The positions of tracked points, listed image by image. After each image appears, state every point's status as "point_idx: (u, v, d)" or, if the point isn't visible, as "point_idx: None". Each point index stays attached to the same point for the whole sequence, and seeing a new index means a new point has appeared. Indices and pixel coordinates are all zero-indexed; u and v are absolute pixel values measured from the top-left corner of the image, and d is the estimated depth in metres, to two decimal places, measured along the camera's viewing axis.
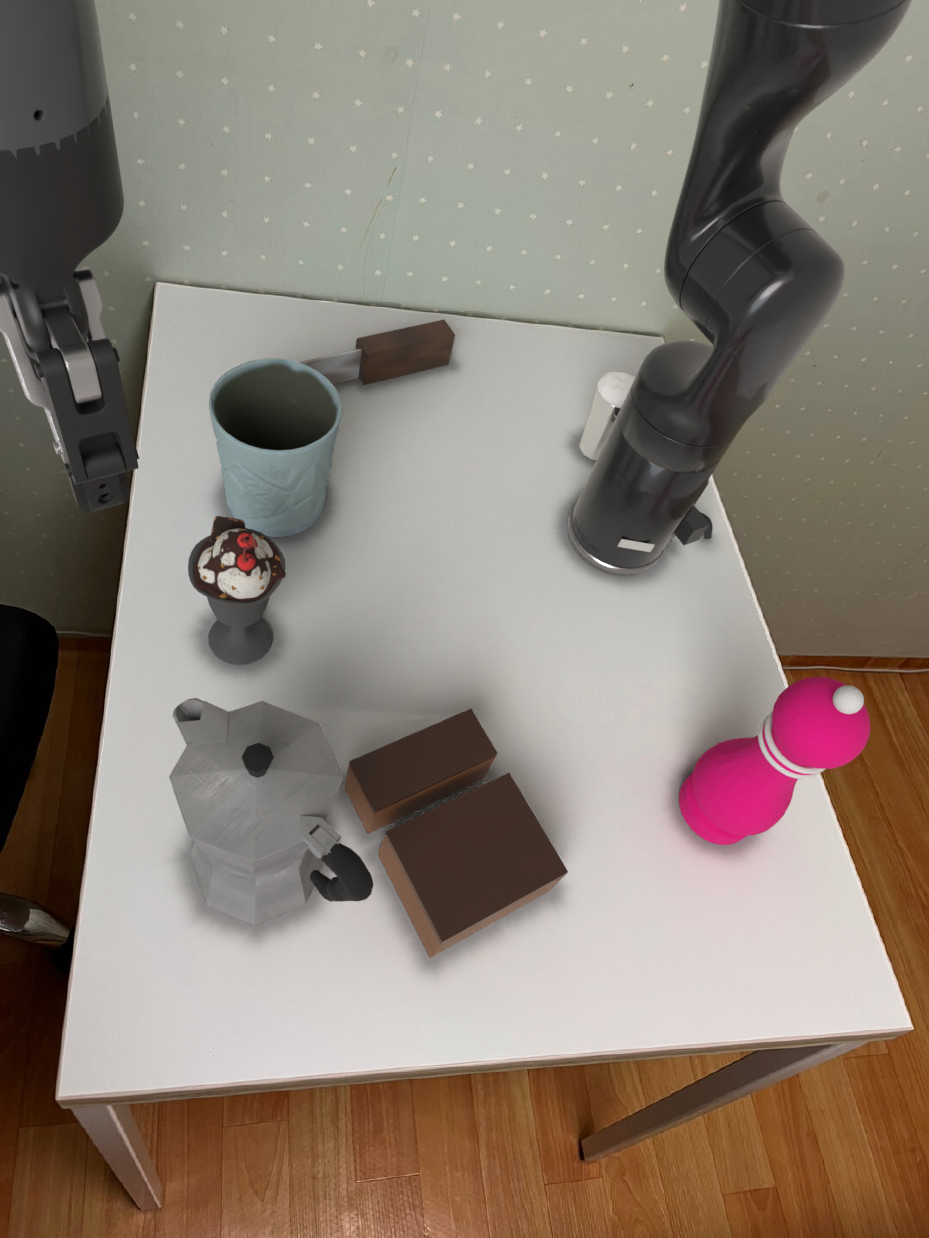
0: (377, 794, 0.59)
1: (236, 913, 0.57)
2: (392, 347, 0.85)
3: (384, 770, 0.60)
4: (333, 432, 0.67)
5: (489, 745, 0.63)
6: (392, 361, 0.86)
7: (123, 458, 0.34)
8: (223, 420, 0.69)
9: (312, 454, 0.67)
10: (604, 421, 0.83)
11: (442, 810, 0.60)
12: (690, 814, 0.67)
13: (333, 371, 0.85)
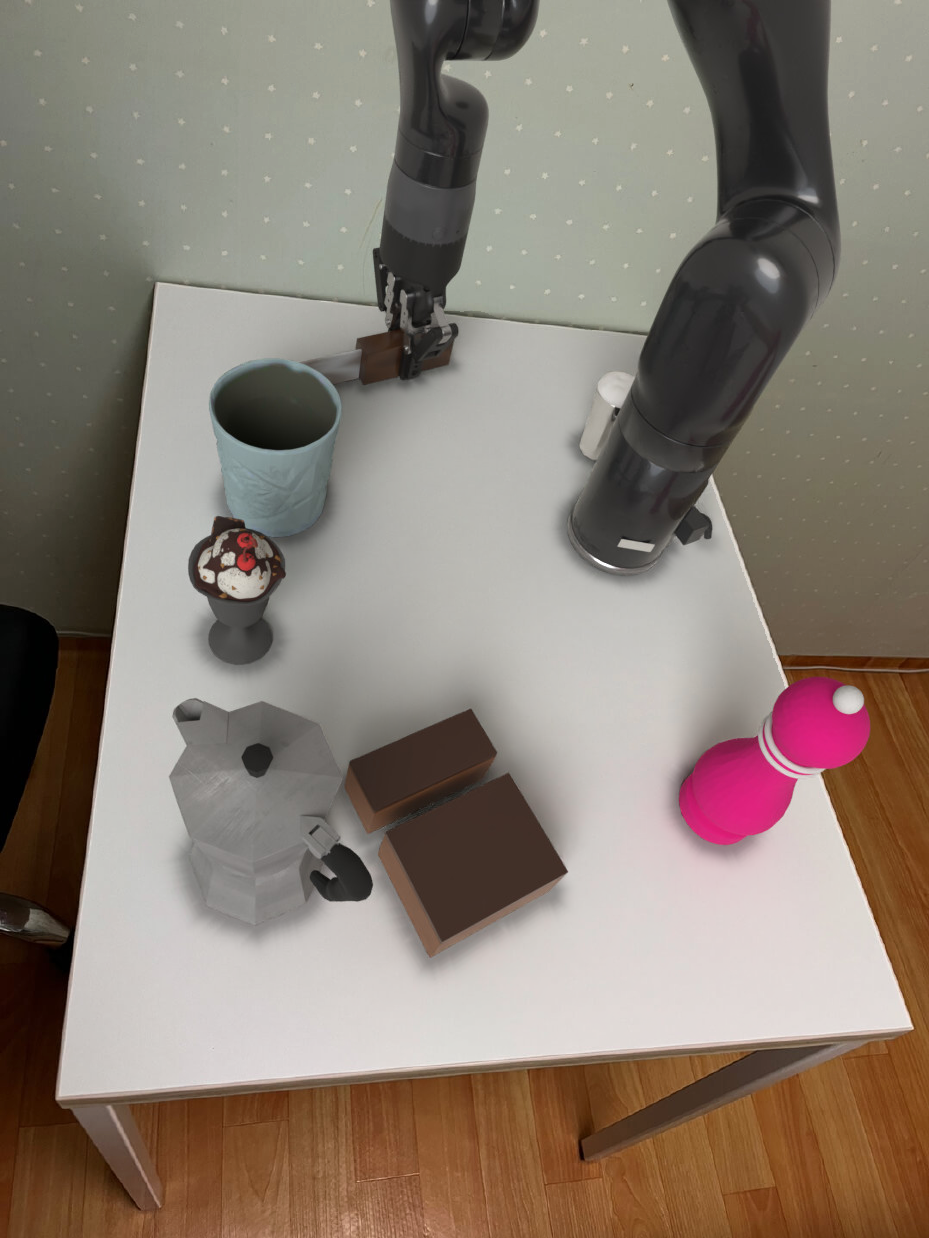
0: (377, 794, 0.59)
1: (236, 913, 0.57)
2: (392, 347, 0.85)
3: (384, 770, 0.60)
4: (333, 432, 0.67)
5: (489, 745, 0.63)
6: (392, 361, 0.86)
7: (435, 354, 0.84)
8: (223, 420, 0.69)
9: (312, 454, 0.67)
10: (604, 421, 0.83)
11: (442, 810, 0.60)
12: (690, 814, 0.67)
13: (333, 371, 0.85)
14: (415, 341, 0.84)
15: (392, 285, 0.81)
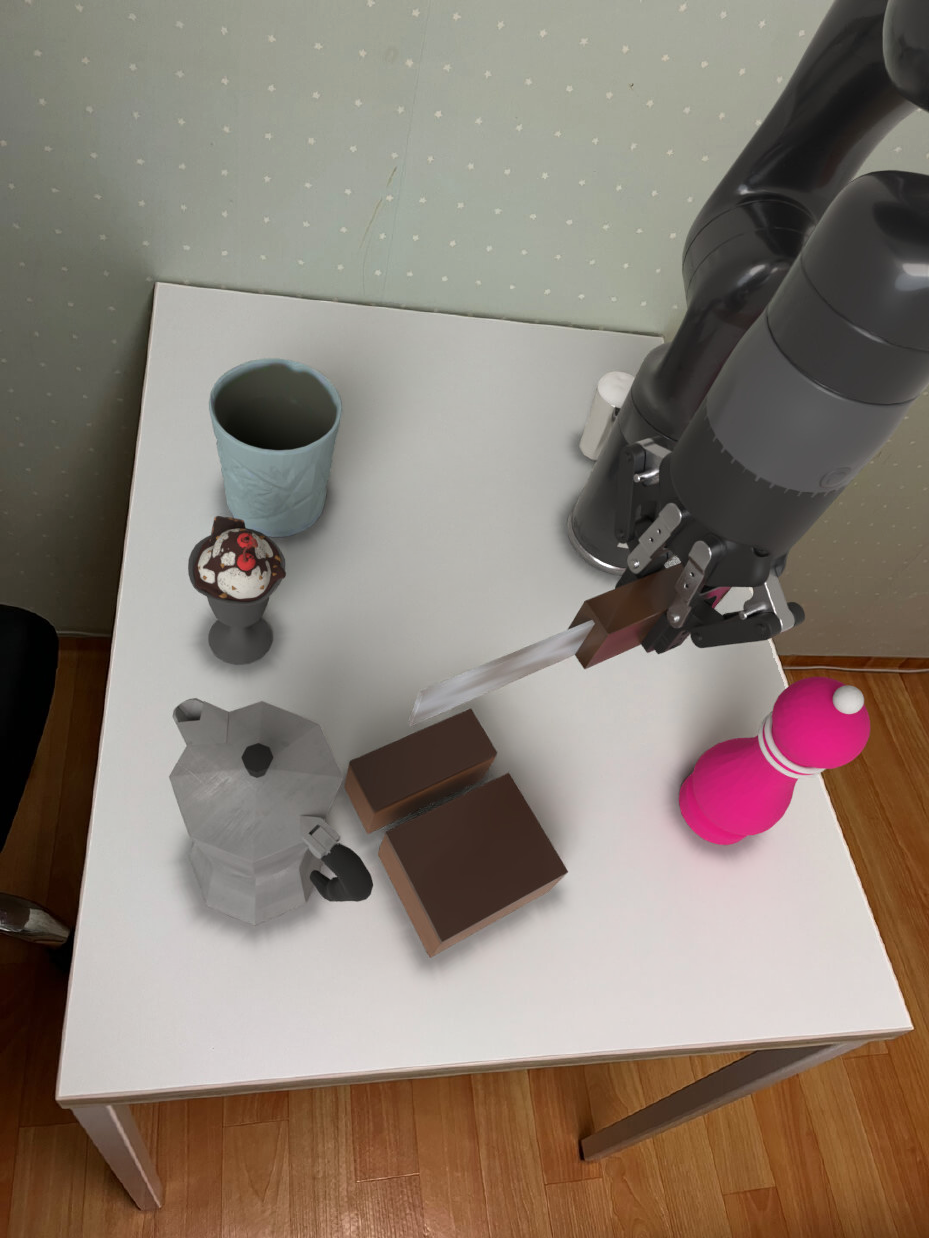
0: (377, 794, 0.59)
1: (236, 913, 0.57)
2: (647, 616, 0.48)
3: (384, 770, 0.60)
4: (333, 432, 0.67)
5: (489, 745, 0.63)
6: (638, 632, 0.50)
7: None
8: (223, 420, 0.69)
9: (312, 454, 0.67)
10: (604, 421, 0.83)
11: (442, 810, 0.60)
12: (690, 814, 0.67)
13: (542, 658, 0.48)
14: None
15: (673, 524, 0.44)
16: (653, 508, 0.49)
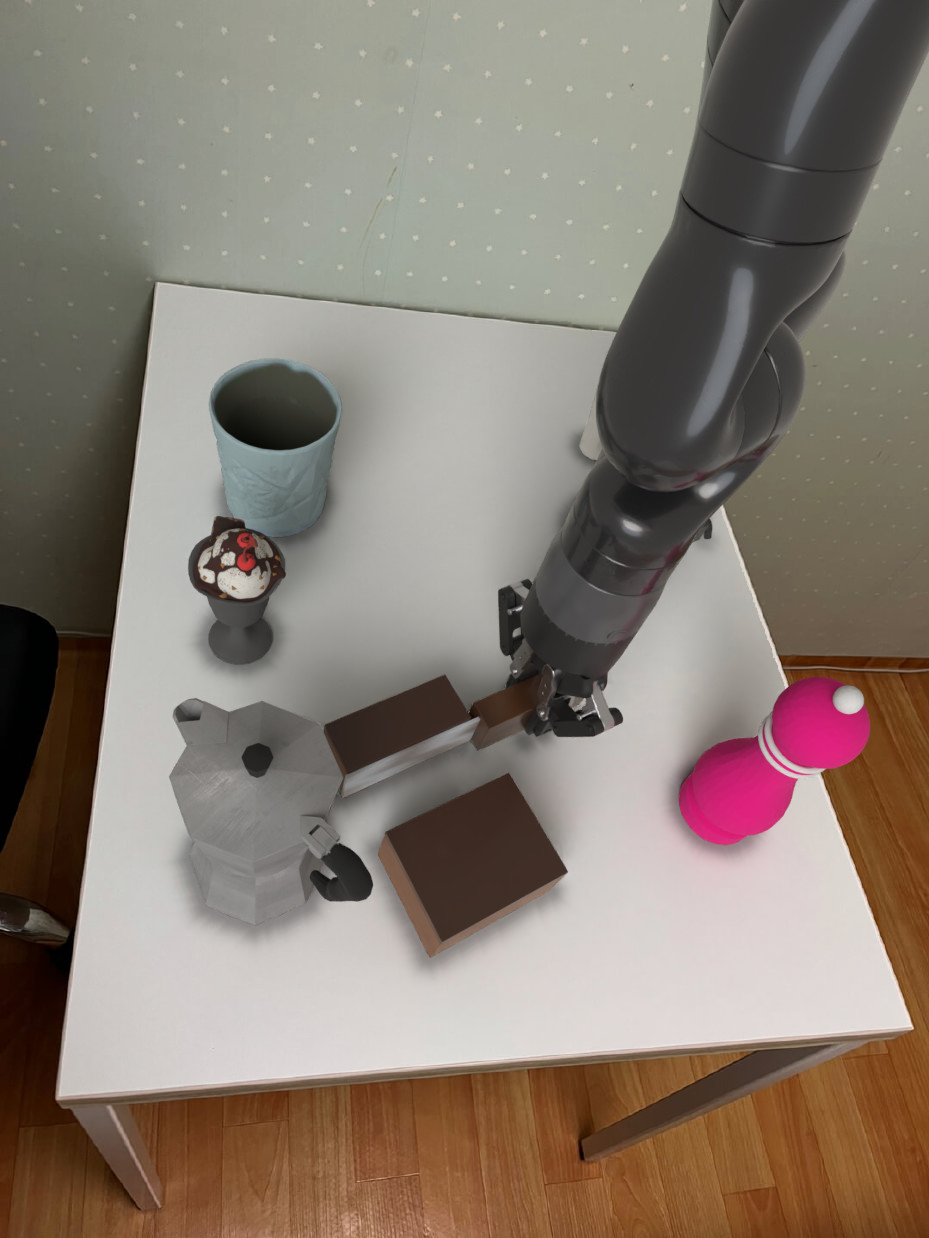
0: (351, 756, 0.60)
1: (236, 913, 0.57)
2: (520, 713, 0.65)
3: (358, 733, 0.61)
4: (333, 432, 0.67)
5: (463, 709, 0.64)
6: (516, 723, 0.66)
7: None
8: (223, 420, 0.69)
9: (312, 454, 0.67)
10: None
11: (442, 810, 0.60)
12: (690, 814, 0.67)
13: (442, 745, 0.65)
14: None
15: (530, 650, 0.61)
16: None
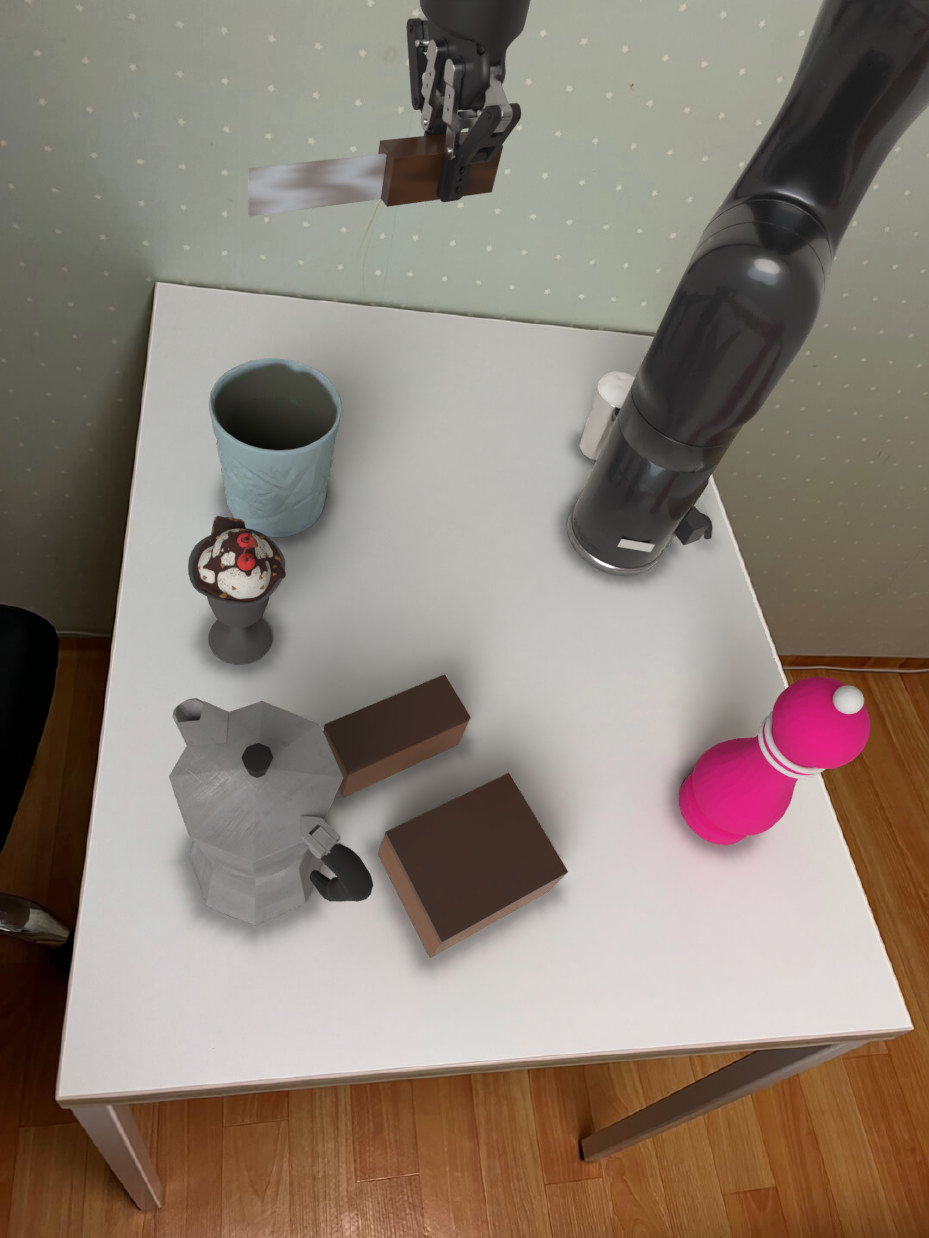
0: (351, 756, 0.60)
1: (236, 913, 0.57)
2: (426, 153, 0.66)
3: (358, 733, 0.61)
4: (333, 432, 0.67)
5: (462, 709, 0.64)
6: (424, 175, 0.68)
7: (486, 156, 0.66)
8: (223, 420, 0.69)
9: (312, 454, 0.67)
10: (604, 421, 0.83)
11: (442, 810, 0.60)
12: (690, 814, 0.67)
13: (350, 183, 0.66)
14: (461, 141, 0.66)
15: (434, 58, 0.63)
16: None
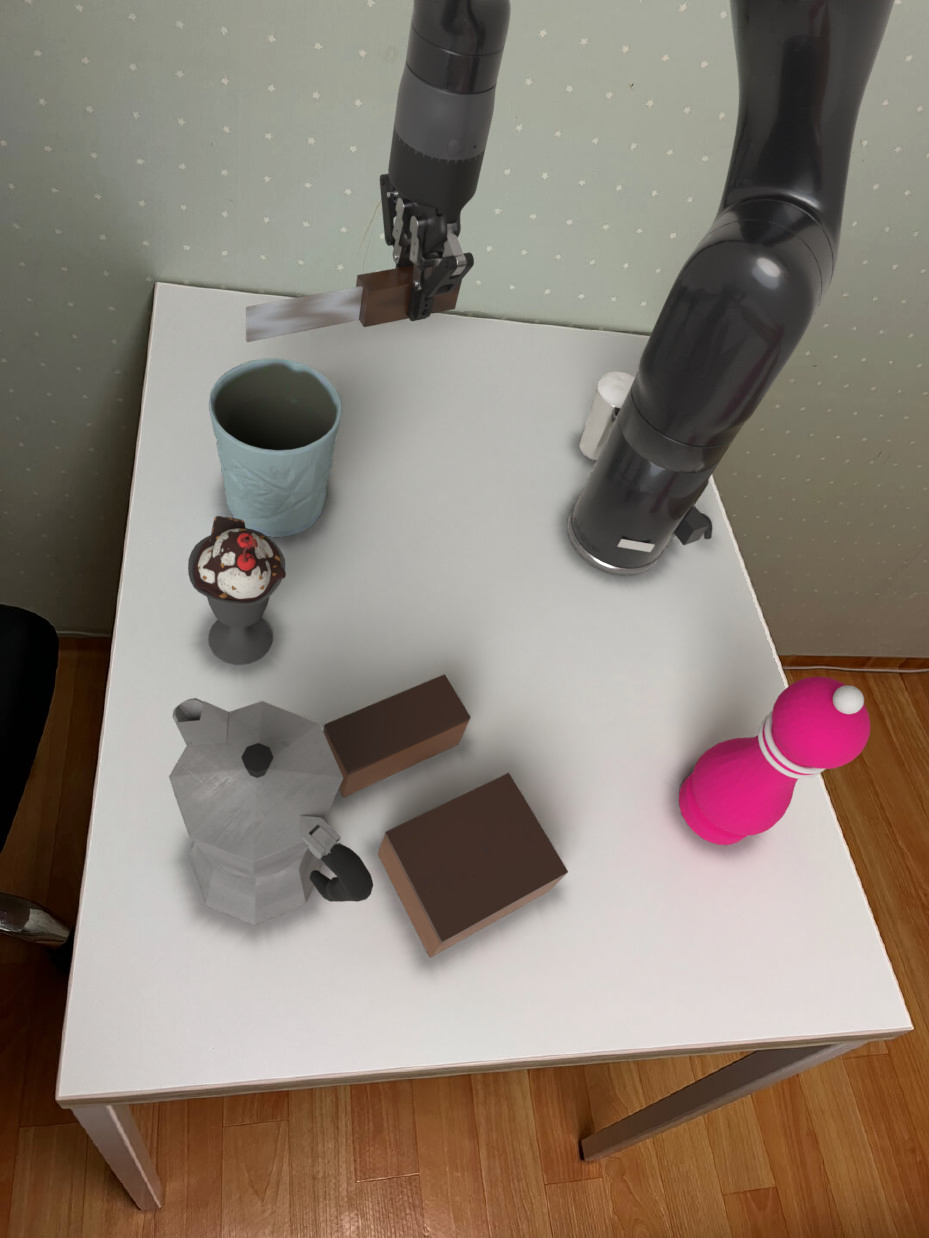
0: (351, 756, 0.60)
1: (236, 913, 0.57)
2: (396, 285, 0.79)
3: (358, 733, 0.61)
4: (333, 432, 0.67)
5: (462, 709, 0.64)
6: (395, 301, 0.80)
7: (447, 289, 0.78)
8: (223, 420, 0.69)
9: (312, 454, 0.67)
10: (604, 421, 0.83)
11: (442, 810, 0.60)
12: (690, 814, 0.67)
13: (332, 310, 0.78)
14: (426, 276, 0.78)
15: (401, 212, 0.75)
16: None
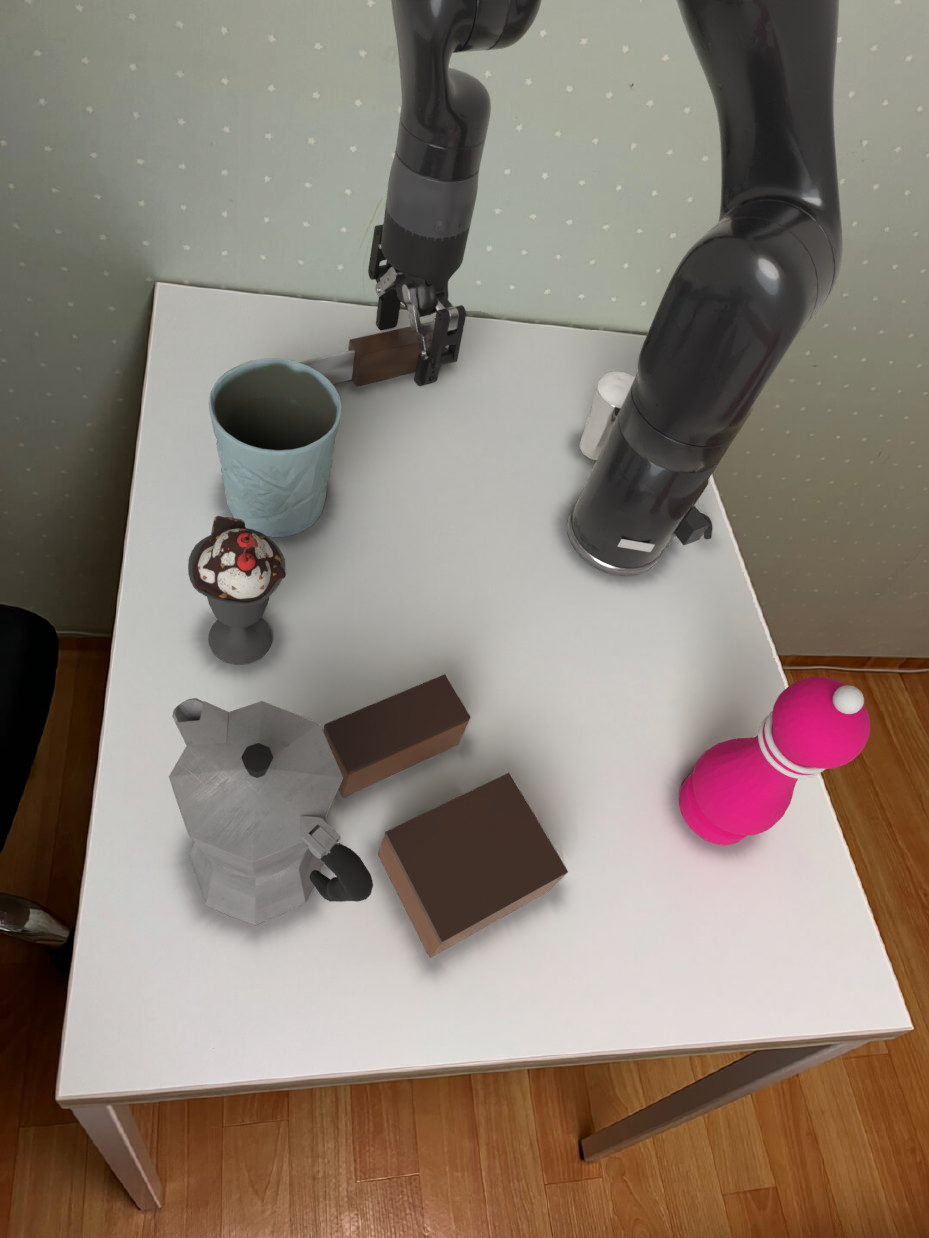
0: (351, 756, 0.60)
1: (236, 913, 0.57)
2: (386, 348, 0.85)
3: (358, 733, 0.61)
4: (333, 432, 0.67)
5: (462, 709, 0.64)
6: (385, 362, 0.86)
7: (453, 356, 0.81)
8: (223, 420, 0.69)
9: (312, 454, 0.67)
10: (604, 421, 0.83)
11: (442, 810, 0.60)
12: (690, 814, 0.67)
13: (326, 372, 0.84)
14: None
15: (394, 280, 0.81)
16: None
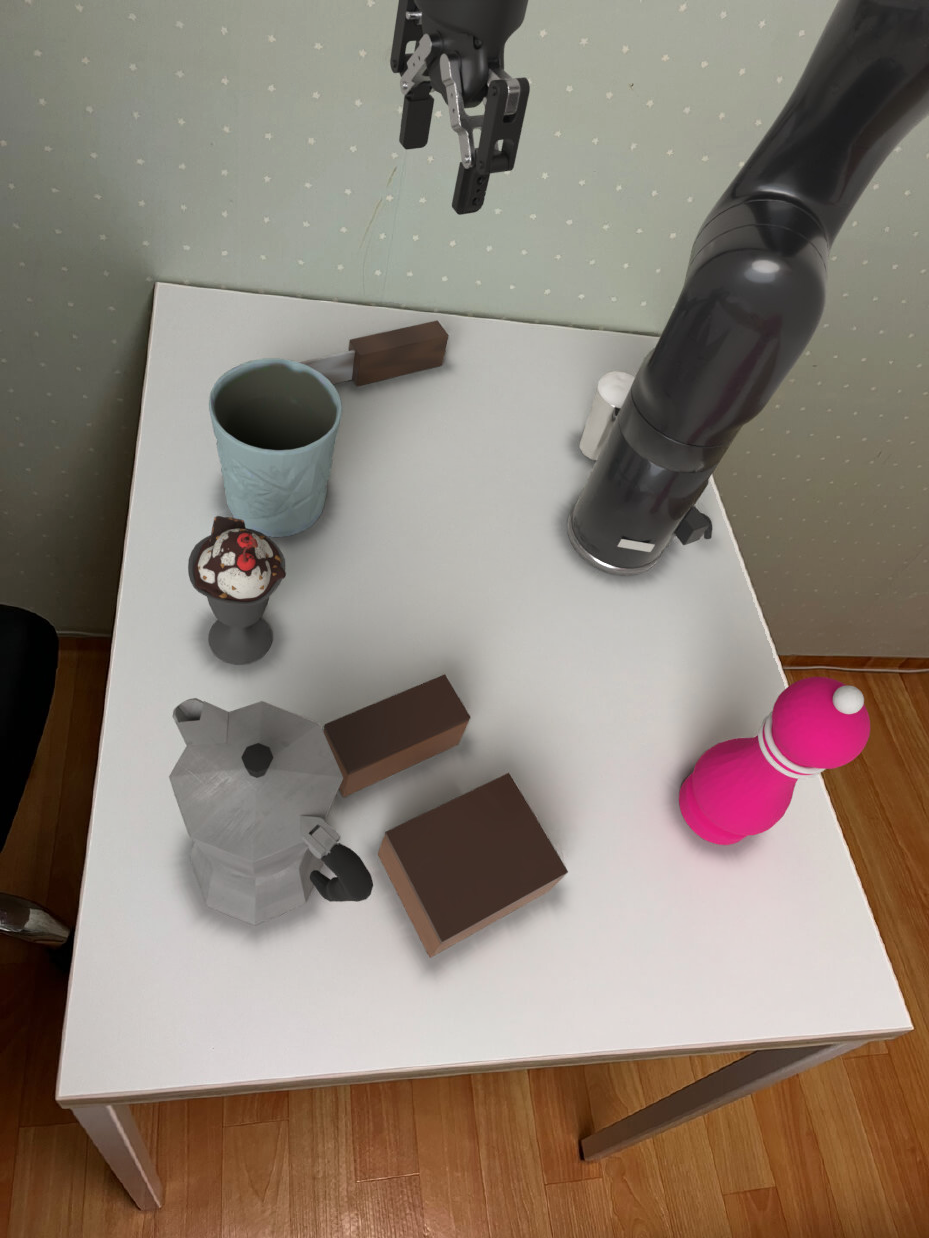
0: (351, 756, 0.60)
1: (236, 913, 0.57)
2: (386, 348, 0.85)
3: (358, 733, 0.61)
4: (333, 432, 0.67)
5: (462, 709, 0.64)
6: (385, 362, 0.86)
7: (508, 160, 0.60)
8: (223, 420, 0.69)
9: (312, 454, 0.67)
10: (604, 421, 0.83)
11: (442, 810, 0.60)
12: (690, 814, 0.67)
13: (326, 372, 0.84)
14: None
15: (428, 53, 0.59)
16: None
